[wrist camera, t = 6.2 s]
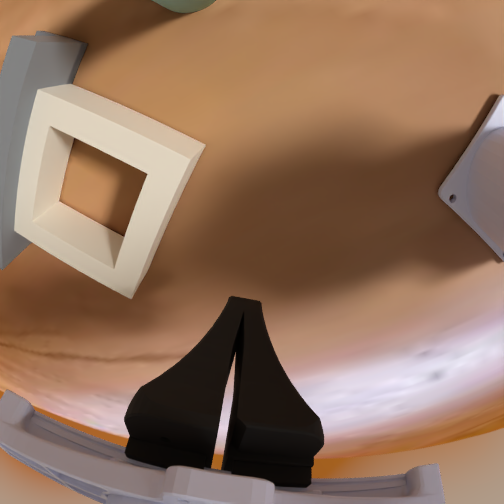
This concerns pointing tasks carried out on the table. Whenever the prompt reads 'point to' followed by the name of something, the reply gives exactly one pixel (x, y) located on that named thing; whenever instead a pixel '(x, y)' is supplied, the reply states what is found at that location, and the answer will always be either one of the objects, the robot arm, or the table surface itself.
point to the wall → (26, 114)
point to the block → (119, 146)
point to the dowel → (185, 5)
